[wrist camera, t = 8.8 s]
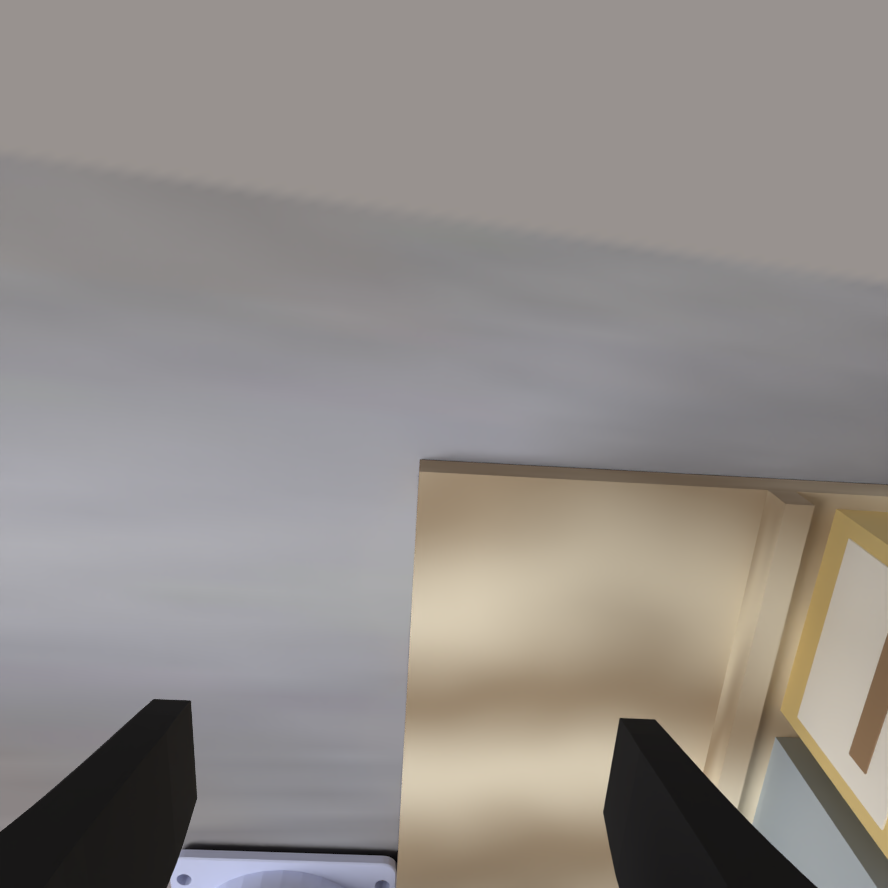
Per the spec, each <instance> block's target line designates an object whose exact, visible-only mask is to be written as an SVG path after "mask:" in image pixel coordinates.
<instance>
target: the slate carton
mask: <svg viewBox="0 0 888 888" xmlns="http://www.w3.org/2000/svg"><path fill="white" fill-rule="evenodd" d="M752 825H753V826H754V827H755V828H756V829H757V830H758V831H759V832H760V833H761V834H762V835H763V836H764V837H765V838H766V839H767V840H768V841H769V842H770V843H771V844H772V845H773V846H774V847H775V848H776V849H777V850H778V851H779V852H780V853H781V854H783V855H784V856H785V857H786V858H787V859H788V860H789V861H790V862H791V863H792V864H793V865H794V866H795V867H796V868H797V869H798V870H799V871H800V872H801V873H802V874H804V875H805V876H806V877H807V878H808V879H809V880H810V881H811V882H812V883H813V884H814V885H815V886H817V887H818V888H888V859H887V858H886V856H885V855H884V854H883V852H882V851H881V849H880V848H879V847H878V845H877V844H876V842H875V841H874V840H873V838H872V837H871V835H870V834H869V833H868V831H867V830H866V829H865V827H864V826H863V824H862V823H861V822H860V820H859V819H858V817H857V816H856V815H855V813H854V812H853V810H852V809H851V808H850V806H849V805H848V804H847V802H846V801H845V799H844V798H843V797H842V795H841V794H840V792H839V791H838V790H837V788H836V787H835V785H834V784H833V783H832V781H831V780H830V779H829V777H828V776H827V774H826V773H825V772H824V770H823V769H822V767H821V766H820V765H819V763H818V762H817V760H816V759H815V758H814V756H813V755H812V754H811V752H810V751H809V749H808V748H807V747H806V745H805V744H804V742H803V741H802V740H801V738H794V737H775V741H774V744H773V748H772V752H771V756H770V759H769V763H768V767H767V771H766V774H765V778H764V782H763V786H762V789H761V793H760V797H759V801H758V804H757V808H756V812H755V816H754V820H753V823H752Z"/></svg>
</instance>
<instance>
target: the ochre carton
mask: <svg viewBox="0 0 888 888" xmlns="http://www.w3.org/2000/svg"><path fill="white" fill-rule="evenodd" d="M781 712H782V713H783V715H784V716H785V717H786V719H787V720H788V722H789V723H790V724H791V726H792V727H793V729H794V730H795V731H796V733H797V734H798V735H799V737H800V738H801V740H802V741H803V742H804V744H805V745H806V747H807V748H808V749H809V751H810V752H811V754H812V755H813V756H814V758H815V759H816V760H817V762H818V763H819V765H820V766H821V767H822V769H823V770H824V772H825V773H826V774H827V776H828V777H829V779H830V780H831V781H832V783H833V784H834V785H835V787H836V788H837V790H838V791H839V792H840V794H841V795H842V797H843V798H844V799H845V801H846V802H847V804H848V805H849V806H850V808H851V809H852V810H853V812H854V813H855V815H856V816H857V817H858V819H859V820H860V822H861V823H862V824H863V826H864V827H865V829H866V830H867V831H868V833H869V834H870V835H871V837H872V838H873V840H874V841H875V842H876V844H877V845H878V847H879V848H880V849H881V851H882V852H883V854H884V855H885V856H886V858H887V859H888V512H877V511H861V510H845V509H836V512H835V515H834V519H833V522H832V526H831V530H830V533H829V537H828V540H827V544H826V548H825V551H824V555H823V558H822V562H821V566H820V569H819V573H818V576H817V580H816V584H815V587H814V591H813V594H812V598H811V602H810V605H809V609H808V612H807V616H806V620H805V623H804V627H803V630H802V634H801V638H800V641H799V645H798V648H797V652H796V656H795V659H794V663H793V666H792V670H791V674H790V677H789V681H788V684H787V688H786V692H785V695H784V699H783V702H782V706H781Z"/></svg>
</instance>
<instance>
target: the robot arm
mask: <svg viewBox="0 0 888 888" xmlns="http://www.w3.org/2000/svg"><path fill="white" fill-rule="evenodd" d="M196 800H197V789H196V774H195V758H194V743H193V727H192V712H191V701H186V700H161V699H153V700H152V701H151V702H150V703H149V704H148V705H146V706H145V707H144V708H143V709H142V710H141V711H140V712H138V713H137V714H136V715H135V716H134V717H133V718H132V719H131V720H129V721H128V722H127V723H126V724H125V725H124V726H123V727H122V728H121V729H120V730H118V731H117V732H116V733H115V734H114V735H113V736H112V737H111V738H110V739H109V740H107V741H106V742H105V743H104V744H103V745H102V746H101V747H100V748H99V749H97V750H96V751H95V752H94V753H93V754H92V755H91V756H90V757H89V758H87V759H86V760H85V761H84V762H83V763H82V764H81V765H80V766H78V767H77V768H76V769H75V770H74V771H73V772H71V773H70V774H69V775H68V776H67V777H66V778H65V779H63V780H62V781H61V782H60V783H59V784H58V785H57V786H55V787H54V788H53V789H52V790H51V791H50V792H48V793H47V794H46V795H45V796H44V797H43V798H41V799H40V800H39V801H38V802H37V803H35V804H34V805H33V806H32V807H31V808H29V809H28V810H27V811H26V812H24V813H23V814H22V815H21V816H19V817H18V818H17V819H16V820H14V821H13V822H12V823H11V824H10V825H8V826H7V827H6V828H5V829H3V830H2V831H1V832H0V888H167V885H168V883H169V881H170V880H171V888H396V881H397V863H396V862H395V860H394V859H392V858H390V857H389V856H379V855H348V854H317V853H286V852H254V851H223V850H192V849H185V850H181V849H182V846H183V842H184V839H185V836H186V833H187V830H188V827H189V823H190V820H191V817H192V813H193V810H194V807H195V803H196ZM603 815H604V820H605V826H606V831H607V836H608V841H609V847H610V852H611V856H612V861H613V866H614V871H615V875H616V879H617V883H618V886H619V888H818V887H817V886H815V885H814V884H813V883H812V882H811V881H810V880H809V879H808V878H807V877H806V876H805V875H804V874H802V873H801V872H800V871H799V870H798V869H797V868H796V867H795V866H794V865H793V864H792V863H791V862H790V861H789V860H788V859H787V858H786V857H785V856H784V855H783V854H781V853H780V852H779V851H778V850H777V849H776V848H775V847H774V846H773V845H772V844H771V843H770V842H769V841H768V840H767V839H766V838H765V837H764V836H763V835H762V834H761V833H760V832H759V831H758V830H757V829H756V828H755V827H754V826H753V825H752V824H751V823H750V822H749V821H748V820H747V819H746V818H745V817H744V816H743V815H742V814H741V813H740V811H739V810H738V809H737V808H736V807H735V806H734V805H733V804H732V803H731V802H730V801H729V800H728V799H727V798H726V797H725V796H724V795H723V794H722V792H721V791H720V790H719V789H718V788H717V787H716V786H715V785H714V784H713V783H712V782H711V781H710V779H709V778H708V777H707V776H706V775H705V774H704V773H703V772H702V771H701V770H700V768H699V767H698V766H697V765H696V764H695V763H694V762H693V761H692V760H691V759H690V757H689V756H688V755H687V754H686V753H685V752H684V751H683V750H682V748H681V747H680V746H679V745H678V744H677V743H676V742H675V741H674V740H673V738H672V737H671V736H670V735H669V734H668V733H667V732H666V731H665V730H664V728H663V727H662V726H661V725H660V724H659V723H658V722H657V721H656V720H655V719H635V718H619V724H618V730H617V735H616V741H615V747H614V752H613V758H612V764H611V769H610V775H609V781H608V787H607V792H606V798H605V804H604V809H603ZM381 880H384V881H381Z"/></svg>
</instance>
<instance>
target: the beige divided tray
mask: <svg viewBox="0 0 888 888" xmlns="http://www.w3.org/2000/svg"><path fill="white" fill-rule="evenodd" d="M836 509H845V510H861V511H877V512H888V485H881V484H862V483H844V482H825V481H807V480H788V479H769V478H751V477H732V476H714V475H695V474H677V473H658V472H640V471H621V470H603V469H584V468H566V467H547V466H529V465H510V464H492V463H473V462H455V461H436V460H420V467H419V485H418V503H417V521H416V539H415V557H414V575H413V593H412V611H411V629H410V647H409V665H408V683H407V701H406V719H405V737H404V755H403V773H402V791H401V809H400V827H399V845H398V863H397V881H396V888H619V886H618V883H617V879H616V875H615V871H614V866H613V861H612V856H611V852H610V847H609V841H608V836H607V831H606V826H605V820H604V815H603V809H604V804H605V798H606V792H607V787H608V781H609V775H610V769H611V764H612V758H613V752H614V747H615V741H616V735H617V730H618V724H619V718H635V719H655V720H656V721H657V722H658V723H659V724H660V725H661V726H662V727H663V728H664V730H665V731H666V732H667V733H668V734H669V735H670V736H671V737H672V738H673V740H674V741H675V742H676V743H677V744H678V745H679V746H680V747H681V748H682V750H683V751H684V752H685V753H686V754H687V755H688V756H689V757H690V759H691V760H692V761H693V762H694V763H695V764H696V765H697V766H698V767H699V768H700V770H701V771H702V772H703V773H704V774H705V775H706V776H707V777H708V778H709V779H710V781H711V782H712V783H713V784H714V785H715V786H716V787H717V788H718V789H719V790H720V791H721V792H722V794H723V795H724V796H725V797H726V798H727V799H728V800H729V801H730V802H731V803H732V804H733V805H734V806H735V807H736V808H737V809H738V810H739V811H740V813H741V814H742V815H743V816H744V817H745V818H746V819H747V820H748V821H749V822H750V823H751V824H752V823H753V820H754V816H755V812H756V808H757V804H758V801H759V797H760V793H761V789H762V786H763V782H764V778H765V774H766V771H767V767H768V763H769V759H770V756H771V752H772V748H773V744H774V741H775V737H794V738H800V737H799V735H798V734H797V733H796V731H795V730H794V729H793V727H792V726H791V724H790V723H789V722H788V720H787V719H786V717H785V716H784V715H783V713H782V712H781V706H782V702H783V699H784V695H785V692H786V688H787V684H788V681H789V677H790V674H791V670H792V666H793V663H794V659H795V656H796V652H797V648H798V645H799V641H800V638H801V634H802V630H803V627H804V623H805V620H806V616H807V612H808V609H809V605H810V602H811V598H812V594H813V591H814V587H815V584H816V580H817V576H818V573H819V569H820V566H821V562H822V558H823V555H824V551H825V548H826V544H827V540H828V537H829V533H830V530H831V526H832V522H833V519H834V515H835V512H836Z"/></svg>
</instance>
